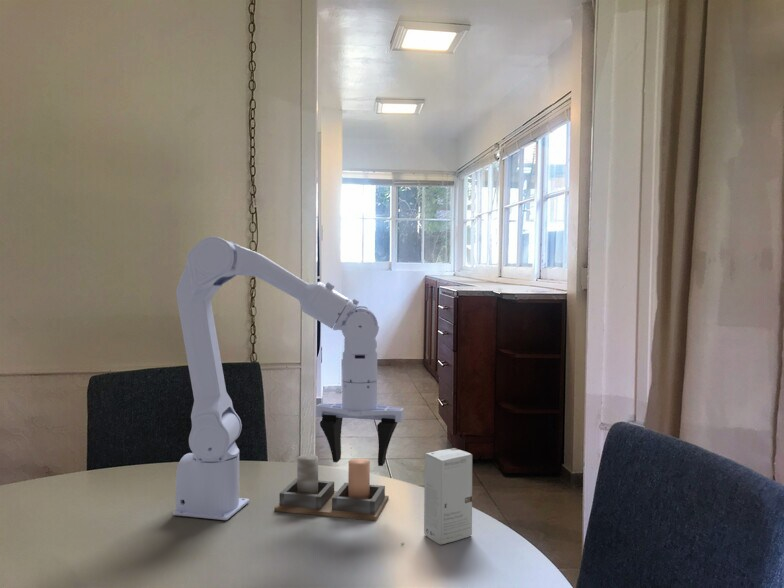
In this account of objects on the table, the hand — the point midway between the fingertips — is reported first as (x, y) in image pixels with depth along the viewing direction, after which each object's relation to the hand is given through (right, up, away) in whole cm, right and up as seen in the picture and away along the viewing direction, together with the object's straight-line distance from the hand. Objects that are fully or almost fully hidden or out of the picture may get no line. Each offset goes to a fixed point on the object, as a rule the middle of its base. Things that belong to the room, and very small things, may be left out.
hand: (359, 462), depth 92 cm
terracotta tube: (0, -7, 0) cm, 7 cm away
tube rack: (-4, -7, +1) cm, 9 cm away
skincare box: (+14, -8, -10) cm, 19 cm away
